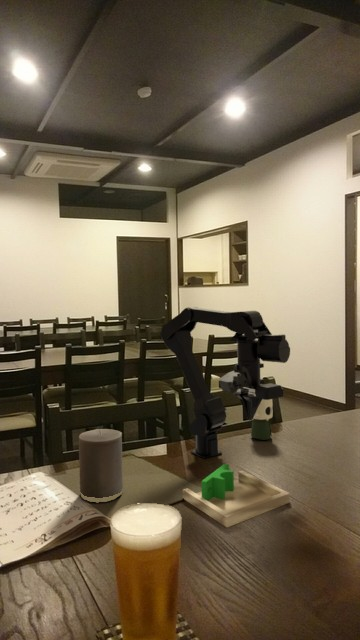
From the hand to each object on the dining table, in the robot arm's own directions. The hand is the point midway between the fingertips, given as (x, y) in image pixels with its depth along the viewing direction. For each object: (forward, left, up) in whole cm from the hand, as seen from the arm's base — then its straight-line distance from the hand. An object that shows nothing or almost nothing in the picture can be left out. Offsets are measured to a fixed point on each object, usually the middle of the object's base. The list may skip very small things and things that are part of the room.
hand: (250, 419), depth 114 cm
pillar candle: (-8, -38, -12) cm, 41 cm away
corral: (+12, -16, -12) cm, 23 cm away
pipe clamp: (+8, -17, -12) cm, 22 cm away
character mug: (-14, +17, -12) cm, 25 cm away
